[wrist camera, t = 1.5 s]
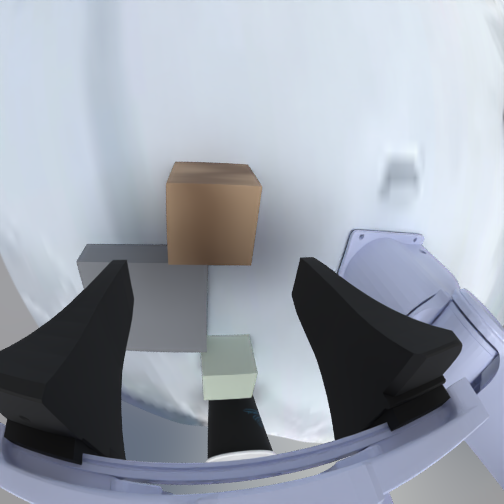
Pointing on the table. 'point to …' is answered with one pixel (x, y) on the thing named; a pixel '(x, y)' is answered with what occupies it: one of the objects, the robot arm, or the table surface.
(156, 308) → the grey square slab
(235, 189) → the walnut cube
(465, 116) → the table surface
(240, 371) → the sage cube
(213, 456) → the dixie cup
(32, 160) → the table surface
